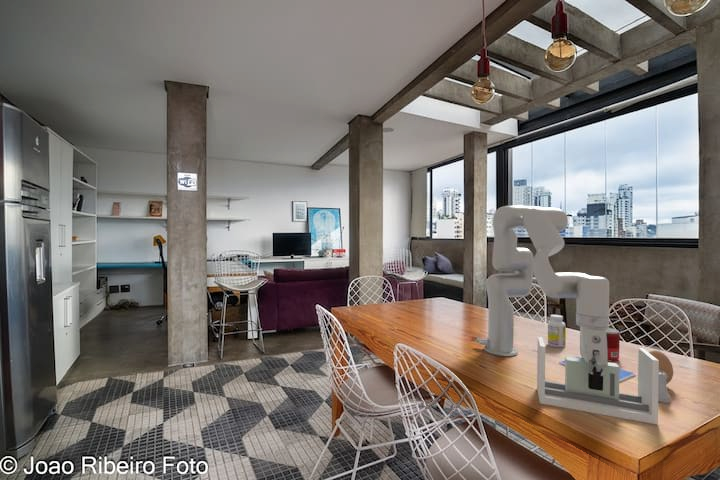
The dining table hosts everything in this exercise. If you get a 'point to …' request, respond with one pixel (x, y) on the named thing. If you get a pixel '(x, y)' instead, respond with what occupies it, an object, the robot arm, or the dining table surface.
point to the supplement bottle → (556, 331)
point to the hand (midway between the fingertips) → (591, 382)
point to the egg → (663, 364)
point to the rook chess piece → (663, 388)
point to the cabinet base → (625, 407)
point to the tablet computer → (622, 373)
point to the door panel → (579, 378)
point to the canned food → (612, 344)
